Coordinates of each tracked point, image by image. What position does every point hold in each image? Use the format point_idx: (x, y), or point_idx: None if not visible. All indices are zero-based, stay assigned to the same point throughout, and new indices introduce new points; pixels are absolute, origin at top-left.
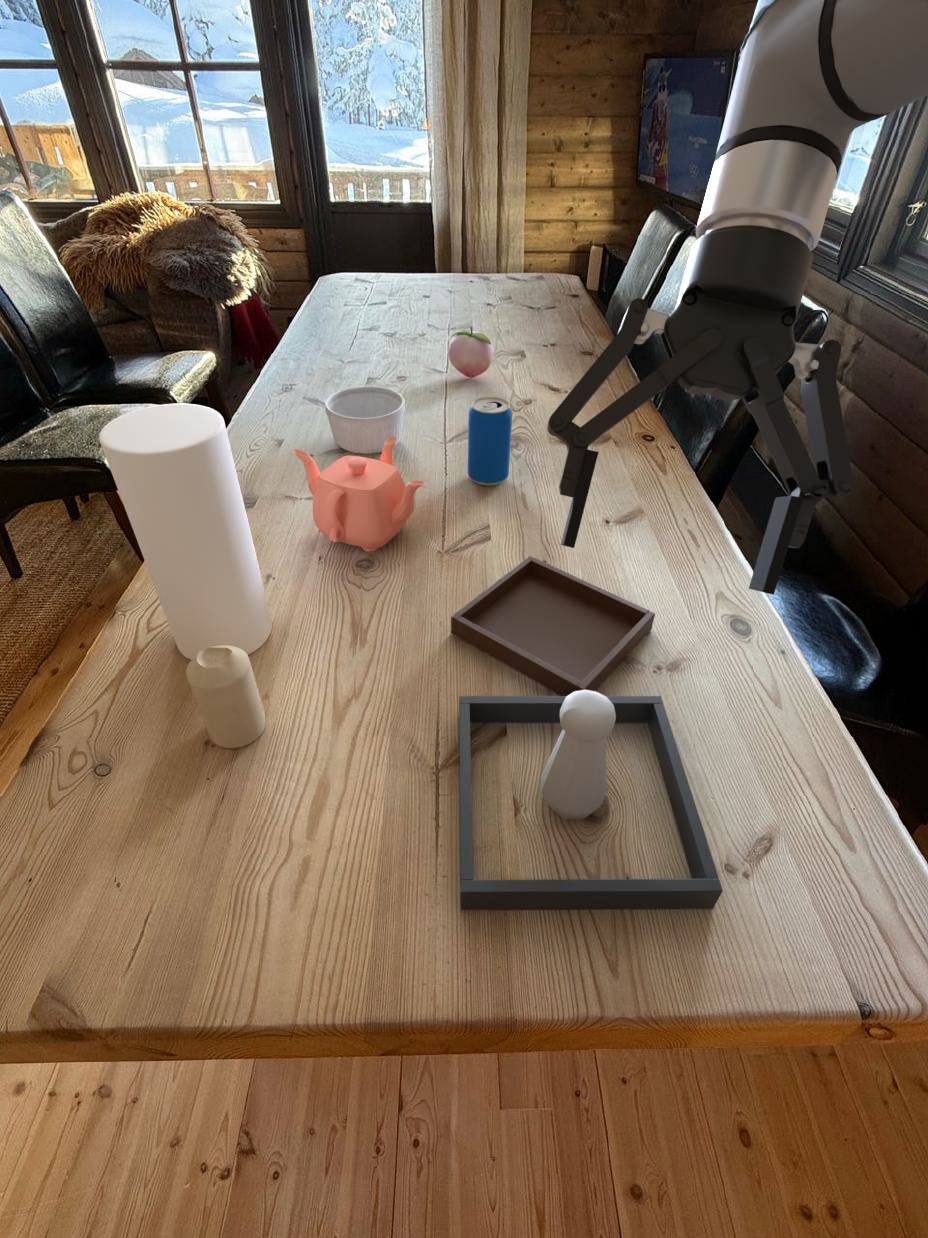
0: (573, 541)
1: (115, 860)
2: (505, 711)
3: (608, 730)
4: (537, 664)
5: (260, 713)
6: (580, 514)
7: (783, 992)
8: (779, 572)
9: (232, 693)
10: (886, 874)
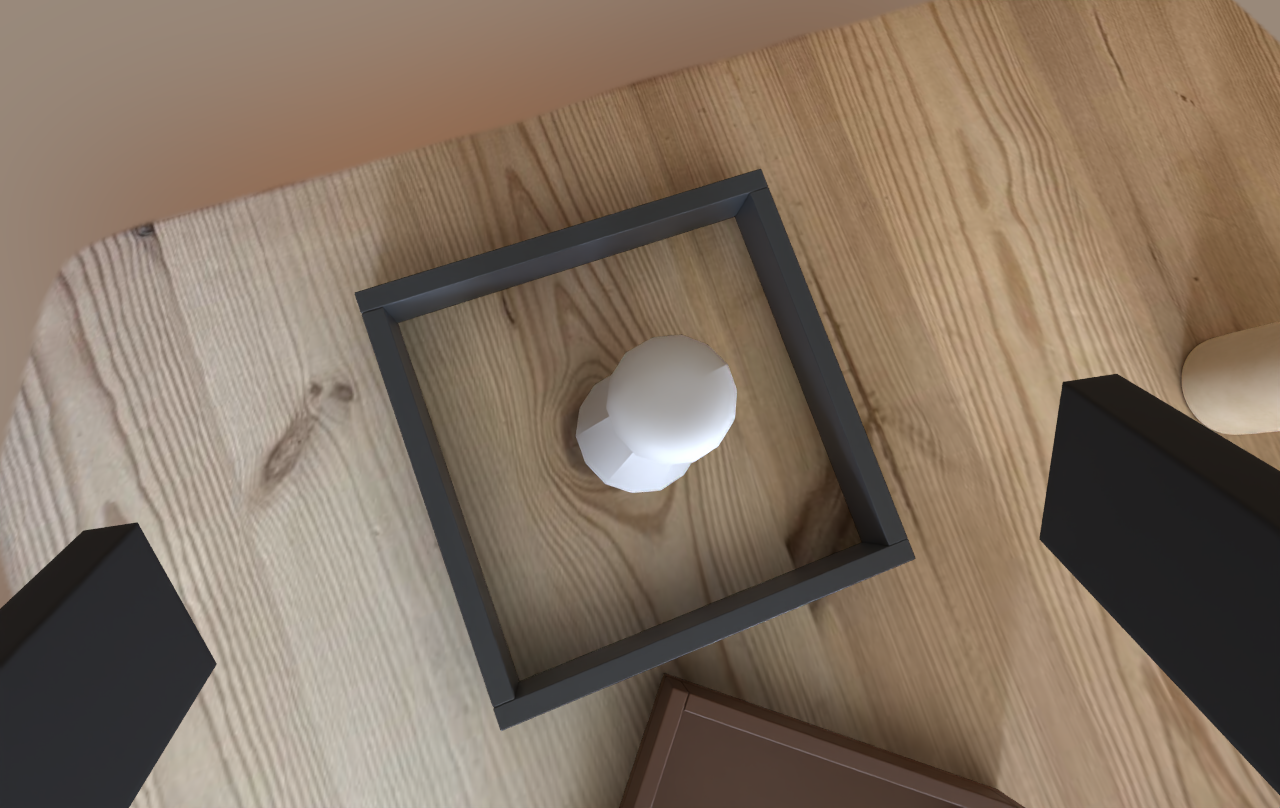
0: (1094, 390)
1: (1213, 125)
2: (811, 571)
3: (617, 366)
4: (791, 728)
5: (1222, 390)
6: (1201, 468)
7: (265, 216)
8: (7, 604)
9: None
10: (54, 474)
